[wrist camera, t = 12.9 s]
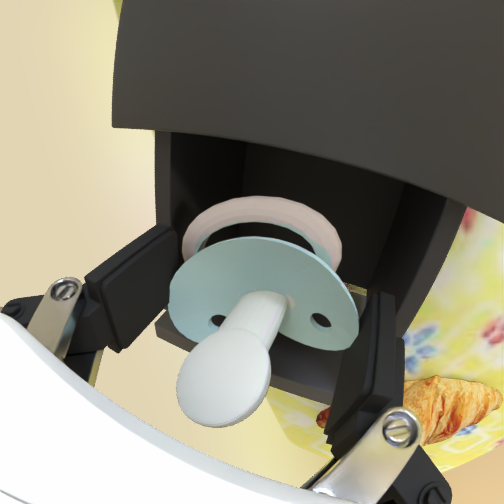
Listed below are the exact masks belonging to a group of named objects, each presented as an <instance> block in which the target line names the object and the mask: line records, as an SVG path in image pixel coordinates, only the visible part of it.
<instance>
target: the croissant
mask: <svg viewBox="0 0 504 504" xmlns="http://www.w3.org/2000/svg"><path fill="white" fill-rule="evenodd" d="M502 400H503V398H502V394H501V393H500V392H499V391H498V390H495V389H493V388H491V387H487V386H485V385H483V384H481V383H477V382H469V381H464V380H462V379H449V378H441V377H439V376H433V377H431V378H429V379H425V380H412V381H406V382H404V398H403V407H404V408H407V409H409V410H411V411H413V412H414V413H415V414H416V415H417V416H418V418H419V420H420V421H421V424H422V429H423V432H422V438H421V441H420V443H419V445H420V446H421V447H422V446H425V445H426V444H432V443H436V442H440V441H443V440H446V439H448V438H450V437H452V436H453V435H454V434H456V433H457V432H458V431H459V430H461V429H463V428H465V427H468V426H470V425H473V424H477V423H478V422H479V421H481V420H482V419H483V418H484V417H486V416H487V415H488V414H489V413H490V412H491V411H493V410H496V409H498V408H500V406H501V404H502ZM330 407H331V406H330ZM330 407H329V408H327V409H325V410H323V411H321V412H320V413H319V414H318V416H317V419H316V422H317V424H318V426H319V427H321V428H325V426H326V422H327V418H328V415H329V411H330Z"/></svg>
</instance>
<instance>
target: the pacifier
mask: <svg viewBox="0 0 504 504" xmlns="http://www.w3.org/2000/svg"><path fill="white" fill-rule="evenodd" d="M246 222H262V223H272V224H275V225H279V226H282V227H286V228H289V229H290V230H292V231H294V232H296V233H298V234H300V235H302V236H303V237H304V238H305V239H306V240H307V241H308V242H309V243H310V244H311V245H312V247H313V249H314V252H315V254H316V255H314V254H313V253H311V252H309V251H307V250H306V249H304V248H302V247H300V246H298V245H295V244H292V243H289V242H286V241H283V240H279V239H274V238H267V237H257V236H255V237H240V238H234V239H229V240H225V241H221V242H218V243H216V244H214V245H211V246H209V247H207V248H205V244H206V241H207V240H208V238H209V236H210V235H211V234H212V233H213V232H215V231H217V230H219V229H221V228H223V227H226V226H230V225H233V224H237V223H246ZM182 254H183V258H184V262H185V263H184V264H183V265H182V266H181V267H180V268H179V270H178V271H177V272H176V273H175V275H174V277H173V279H172V281H171V283H170V298H169V304H168V311H169V314H170V318H171V320H172V321H173V323H174V326H175V327H176V328H177V329H178V330H179V332H180V333H182V334H183V335H184V336H186V337H187V338H188V339H190V340H192V341H194V342H198V343H199V344H198V345H196V346H195V347H194V349H193V350H192V351H191V352H190V353H189V355H188V356H187V358H186V359H185V361H184V363H183V365H182V367H181V369H180V372H179V374H178V379H177V386H176V392H177V399H178V402H179V405H180V407H181V409H182V411H183V412H184V414H185V415H186V416H187V417H188V418H189V419H191V420H192V421H193V422H195V423H198V424H200V425H202V426H206V427H212V428H222V427H227V426H232V425H234V424H237V423H239V422H241V421H243V420H244V419H246V418H247V417H249V416H250V415H251V414H252V413H253V412H254V411H255V410H256V409H257V408H258V407H259V405H260V404H261V403H262V401H263V399H264V397H265V396H266V393H267V391H268V388H269V384H270V379H271V362H270V357H269V354H268V351H269V349H270V347H271V345H272V343H273V341H274V339H275V337H276V335H277V332H280V333H282V334H283V335H285V336H287V337H289V338H291V339H293V340H295V341H298V342H300V343H303V344H305V345H308V346H311V347H314V348H319V349H324V350H334V351H337V350H344V349H346V348H349V347H350V346H351V344H352V343H353V341H354V340H355V338H356V337H357V336H358V333H359V317H358V312H357V309H356V306H355V303H354V300H353V298H352V297H351V295H350V293H349V291H348V289H347V288H346V286H345V285H344V283H343V282H342V281H341V279H340V278H339V276H338V275H337V274H336V273H335V272H336V270H337V267H338V265H339V263H340V261H341V256H342V243H341V241H340V238H339V236H338V234H337V231H336V229H335V228H334V227H333V226H332V225H331V224H330V223H329V221H328V220H327V219H326V218H325V217H324V216H323V215H322V214H320V213H318V212H316V211H315V210H313V209H311V208H309V207H307V206H306V205H304V204H302V203H298V202H295V201H291V200H288V199H284V198H281V197H268V196H250V197H242V198H234V199H231V200H228V201H225V202H222V203H219V204H216V205H214V206H212V207H210V208H209V209H207V210H206V211H204V212H202V213H201V214H199V215H198V216H197V217H196V218H195V220H194V221H193V222H192V223H191V224H190V225H189V226H188V229H187V231H186V233H185V235H184V237H183V243H182ZM313 313H320V314H322V315H324V316H325V317H327V318H328V320H329V321H330V323H331V325H332V326H331V327H328V328H326V327H322V326H320V325H319V324H317V323H316V322H315V320H314V319H313V317H312V314H313ZM218 314H219V315H224V316H226V319H225V320H224V322H223V323H222V324H221V326H220V327H218V326H215V325H214V324H213V323H212V320H211V318H212V316H214V315H218Z"/></svg>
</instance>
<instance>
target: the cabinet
mask: <svg viewBox="0 0 504 504" xmlns="http://www.w3.org/2000/svg"><path fill="white" fill-rule="evenodd" d="M112 92H113V93H112V127H113V128H128V129H146V130H158V131H170V132H180V133H189V134H197V135H205V136H213V137H220V138H226V139H233V140H239V141H245V142H251V143H256V144H262V145H267V146H272V147H277V148H282V149H287V150H291V151H296V152H300V153H305V154H309V155H313V156H317V157H321V158H325V159H329V160H333V161H337V162H341V163H344V164H348V165H352V166H355V167H359V168H362V169H365V170H369V171H372V172H375V173H378V174H382V175H385V176H388V177H391V178H394V179H397V180H400V181H403V182H406V183H409V184H411V185H414V186H417V187H420V188H422V189H425V190H428V191H430V192H433V193H436V194H438V195H441V196H443V197H446V198H448V199H451V200H453V201H456V202H458V203H460V204H463V205H465V206H467V207H470V208H472V209H474V210H476V211H479V212H481V213H483V214H485V215H487V216H489V217H491V218H493V219H496V220H498V221H500V222H502V223H504V0H123V3H122V8H121V14H120V20H119V27H118V34H117V42H116V51H115V61H114V74H113V91H112Z"/></svg>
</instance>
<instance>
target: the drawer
mask: <svg viewBox="0 0 504 504" xmlns="http://www.w3.org/2000/svg"><path fill="white" fill-rule="evenodd" d="M250 196H268V197H281V198H284V199H288V200H291V201H295V202H298V203H302V204H304V205H306V206H307V207H309V208H311V209H313V210H315V211H316V212H318V213H320V214H322V215H323V216H324V217H325V218H326V219H327V220H328V221H329V223H330V224H331V225H332V226H333V227H334V228H335V229H336V231H337V234H338V236H339V238H340V241H341V243H342V256H341V261H340V263H339V265H338V267H337V270H336V272H335V273H336V274H337V275H338V276H339V278H340V279H341V281H343V282H346V283H349V284H352V285H356V286H359V287H362V288H365V289H367V296H363V295H359V294H356V293H353V292H350V291H349V293H350V295H351V297H352V298H353V300H354V303H355V306H356V309H357V312H358V317H359V319H360V317H361V315H362V313H363V311H364V309H365V307H366V304H367V302H368V300H369V298H370V296H371V294H372V293H373V294H377V293H378V292H379V291H382V292H385V293H388V294H391V295H394V296H395V313H396V337H399V338H402V337H403V335H404V334H405V332H406V330H407V329H408V327H409V326H410V324H411V322H412V321H413V319H414V317H415V316H416V314H417V312H418V311H419V309H420V307H421V305H422V304H423V302H424V300H425V298H426V296H427V294H428V293H429V291H430V289H431V287H432V285H433V283H434V281H435V279H436V277H437V275H438V273H439V271H440V269H441V267H442V265H443V263H444V261H445V259H446V257H447V254H448V252H449V250H450V248H451V245H452V243H453V241H454V239H455V236H456V234H457V231H458V229H459V226H460V224H461V221H462V219H463V216H464V213H465V211H466V208H467V206H465V205H463V204H460V203H458V202H456V201H453V200H451V199H448V198H446V197H443V196H441V195H438V194H436V193H433V192H430V191H428V190H425V189H422V188H420V187H417V186H414V185H411V184H409V183H406V182H403V181H400V180H397V179H394V178H391V177H388V176H385V175H382V174H378V173H375V172H372V171H369V170H365V169H362V168H359V167H355V166H352V165H348V164H344V163H341V162H337V161H333V160H329V159H325V158H321V157H317V156H313V155H309V154H305V153H300V152H296V151H291V150H287V149H282V148H277V147H272V146H267V145H262V144H256V143H251V142H245V141H239V140H233V139H226V138H220V137H213V136H205V135H197V134H189V133H180V132H170V131H158V130H155V204H156V225H157V224H159V223H161V224H164V225H168V226H171V227H173V228H174V230H175V232H176V233H177V240H178V265H179V268H180V267H181V266H182V265H183V264H184V263H185V262H184V258H183V254H182V243H183V237H184V235H185V233H186V231H187V229H188V226H189V225H190V224H191V223H192V222H193V221H194V220H195V218H196V217H197V216H198V215H199V214H201V213H202V212H204V211H206V210H207V209H209V208H210V207H212V206H214V205H216V204H219V203H222V202H225V201H228V200H231V199H234V198H242V197H250ZM255 236H257V237H267V238H274V239H279V240H283V241H286V242H289V243H292V244H295V245H298V246H300V247H302V248H304V249H306V250H307V251H309V252H311V253H313V254H314V255H316V254H315V252H314V249H313V247H312V245H311V244H310V243H309V242H308V241H307V240H306V239H305V238H304V237H303V236H302V235H300V234H298V233H296V232H294V231H292V230H290V229H289V228H286V227H282V226H279V225H275V224H272V223H262V222H246V223H237V224H233V225H230V226H226V227H223V228H221V229H219V230H217V231H215V232H213V233H212V234H211V235H210V236H209V238H208V240H207V241H206V244H205V248H207V247H209V246H211V245H214V244H216V243H218V242H221V241H225V240H229V239H234V238H240V237H255ZM164 309H165V310H166V311H165V313H164V314H163V315H162V316H161V317H160V318H159V319H158V320H157V321H156V322H155V329H156V334H157V337H159V338H161V339H163V340H165V341H167V342H169V343H171V344H173V345H175V346H177V347H179V348H182V349H183V350H186V351H188V352H191V351H192V350H193V349H194V347H195V346H196V345H198V344H199V343H198V342H194V341H192V340H190V339H188V338H187V337H186V336H184V335H183V334H182V333H180V332H179V330H178V329H177V328H176V327H175V326H174V323H173V321H172V320H171V318H170V314H169V311H168V305H167V306H166V307H165V308H164ZM312 317H313V319H314V320H315V322H316V323H317V324H319V325H320V326H322V327H326V328H328V327H331V326H332V325H331V323H330V321H329V320H328V318H327V317H325V316H324V315H322V314H320V313H313V314H312ZM225 319H226V316H224V315H219V314H218V315H214V316H212V318H211V320H212V323H213V324H214V325H215V326H218V327H220V326H221V324H222V323H223V322H224V320H225ZM343 352H344V350H337V351H334V350H324V349H319V348H314V347H311V346H308V345H305V344H303V343H300V342H298V341H295V340H293V339H291V338H289V337H287V336H285V335H283V334H282V333H280V332H277V335H276V337H275V339H274V341H273V343H272V345H271V347H270V349H269V351H268V354H269V357H270V362H271V379H270V384H269V386H272V387H275V388H277V389H280V390H283V391H286V392H289V393H292V394H295V395H298V396H301V397H304V398H308V399H311V400H314V401H317V402H321V403H324V404H327V405H331V404H332V400H333V396H334V392H335V388H336V384H337V379H338V375H339V371H340V366H341V361H342V357H343Z"/></svg>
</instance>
